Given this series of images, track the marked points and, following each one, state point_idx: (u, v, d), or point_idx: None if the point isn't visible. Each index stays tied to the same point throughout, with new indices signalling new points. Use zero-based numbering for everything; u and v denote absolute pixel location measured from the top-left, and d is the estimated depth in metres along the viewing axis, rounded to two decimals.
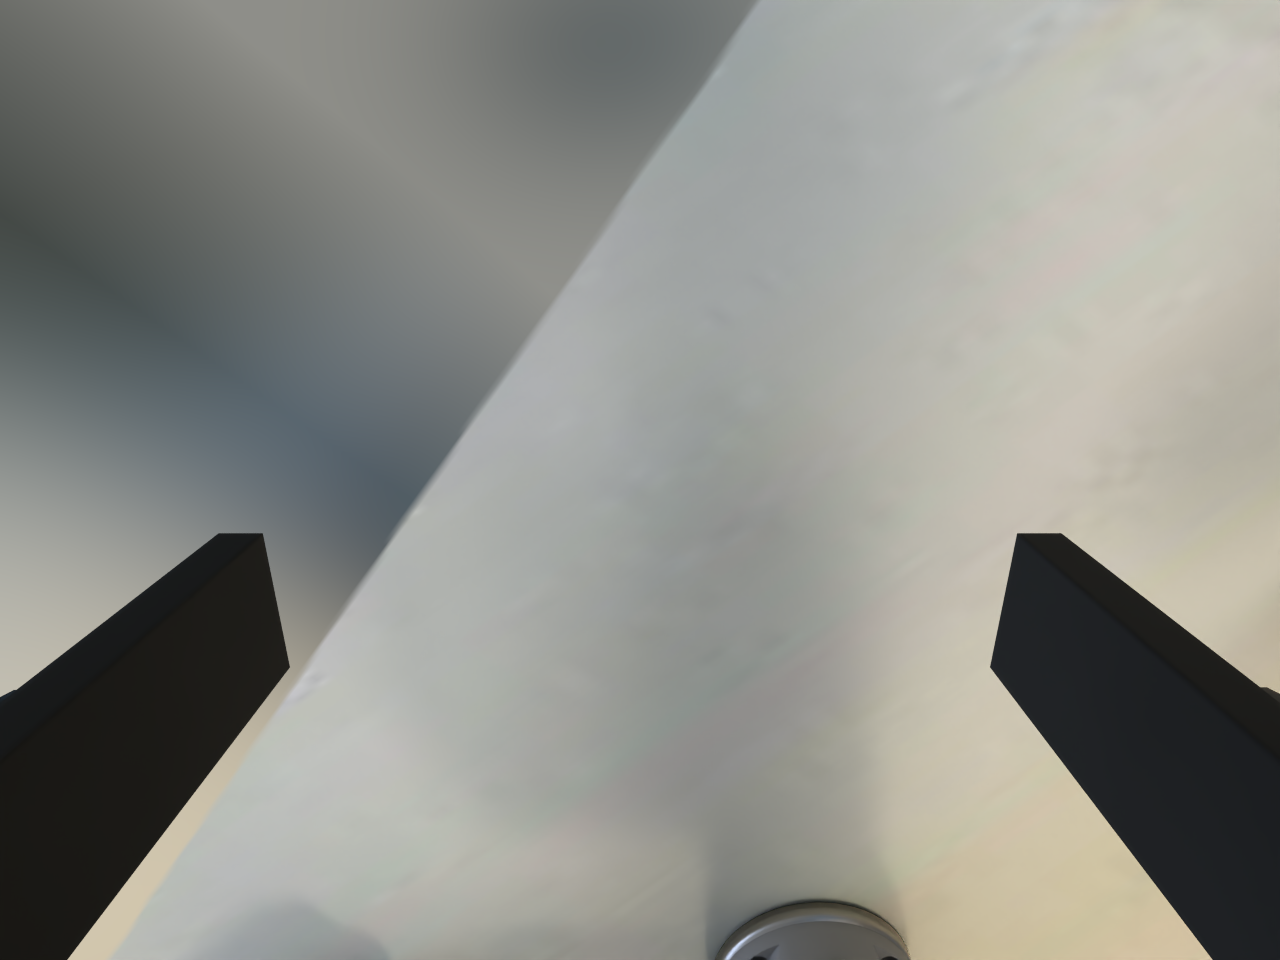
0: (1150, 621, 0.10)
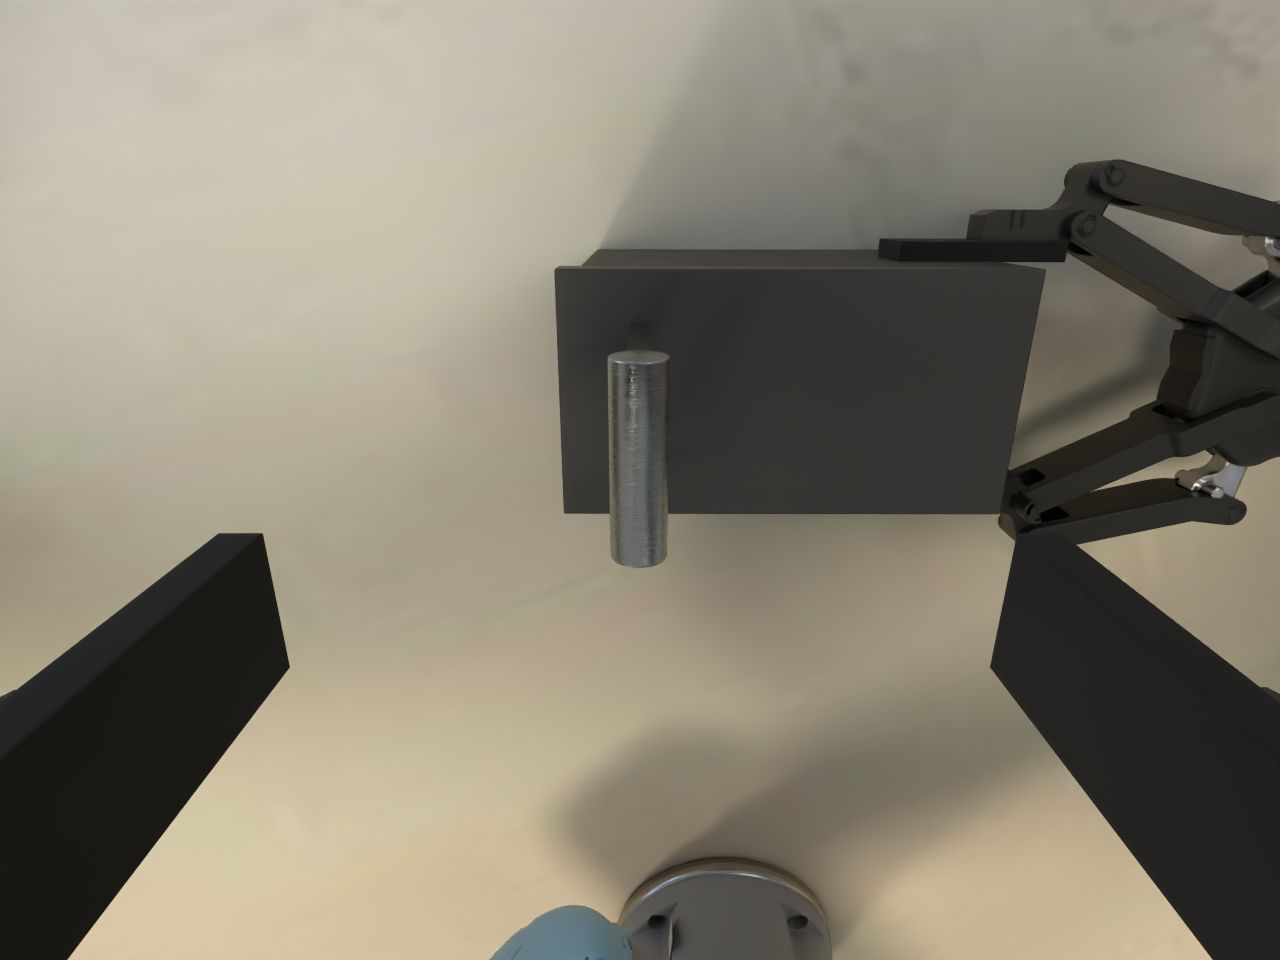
0: (1150, 621, 0.10)
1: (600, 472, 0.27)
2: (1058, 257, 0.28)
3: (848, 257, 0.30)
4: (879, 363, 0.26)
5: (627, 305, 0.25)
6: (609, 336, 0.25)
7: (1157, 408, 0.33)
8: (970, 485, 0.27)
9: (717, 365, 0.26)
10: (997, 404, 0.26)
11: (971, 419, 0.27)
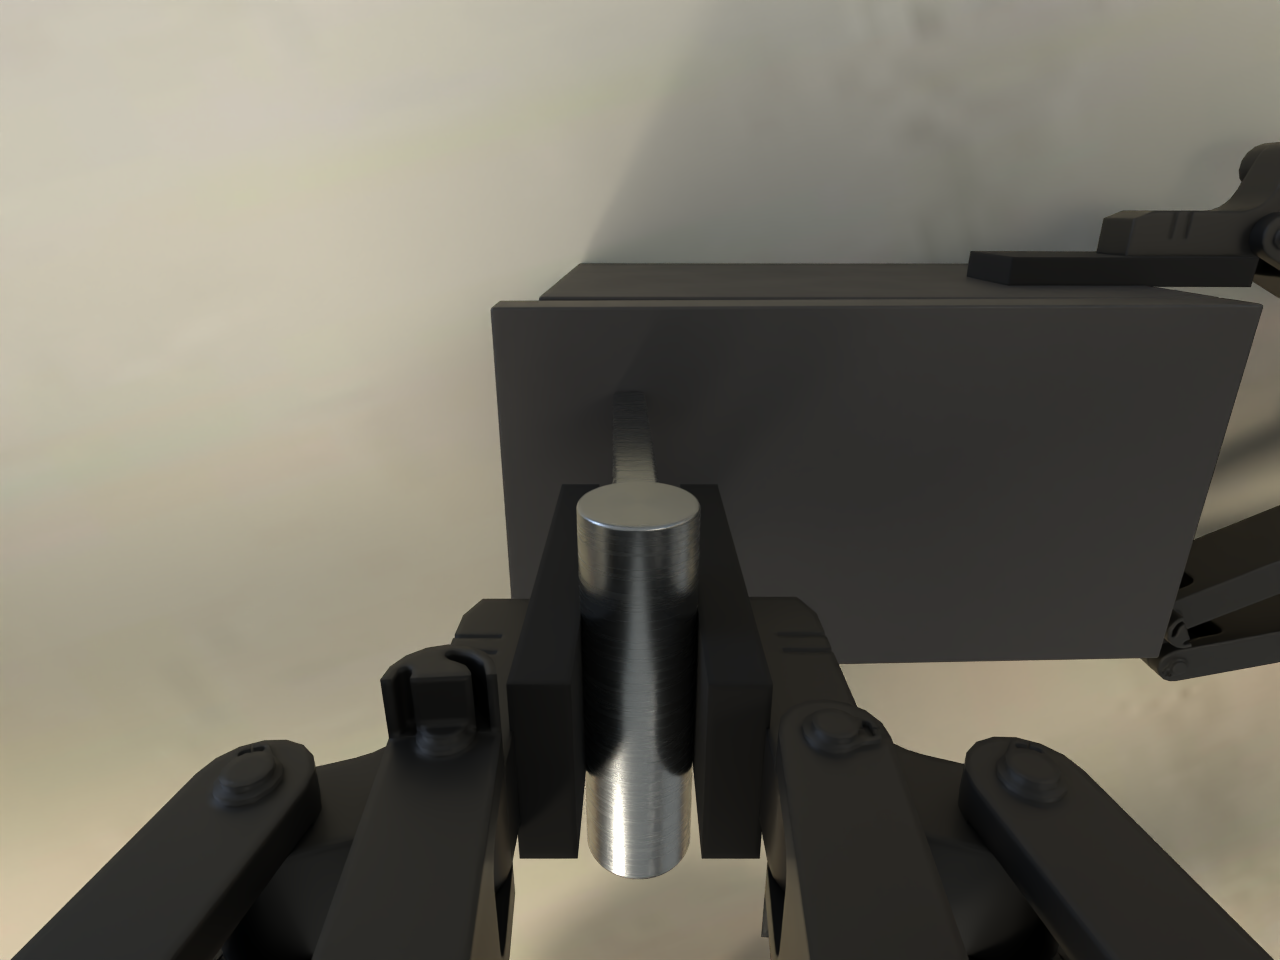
0: (714, 545, 0.12)
1: None
2: (1242, 280, 0.19)
3: (927, 278, 0.21)
4: (998, 448, 0.17)
5: (609, 364, 0.16)
6: (581, 412, 0.16)
7: None
8: (1120, 620, 0.19)
9: (749, 454, 0.17)
10: (1170, 505, 0.17)
11: (1130, 527, 0.18)
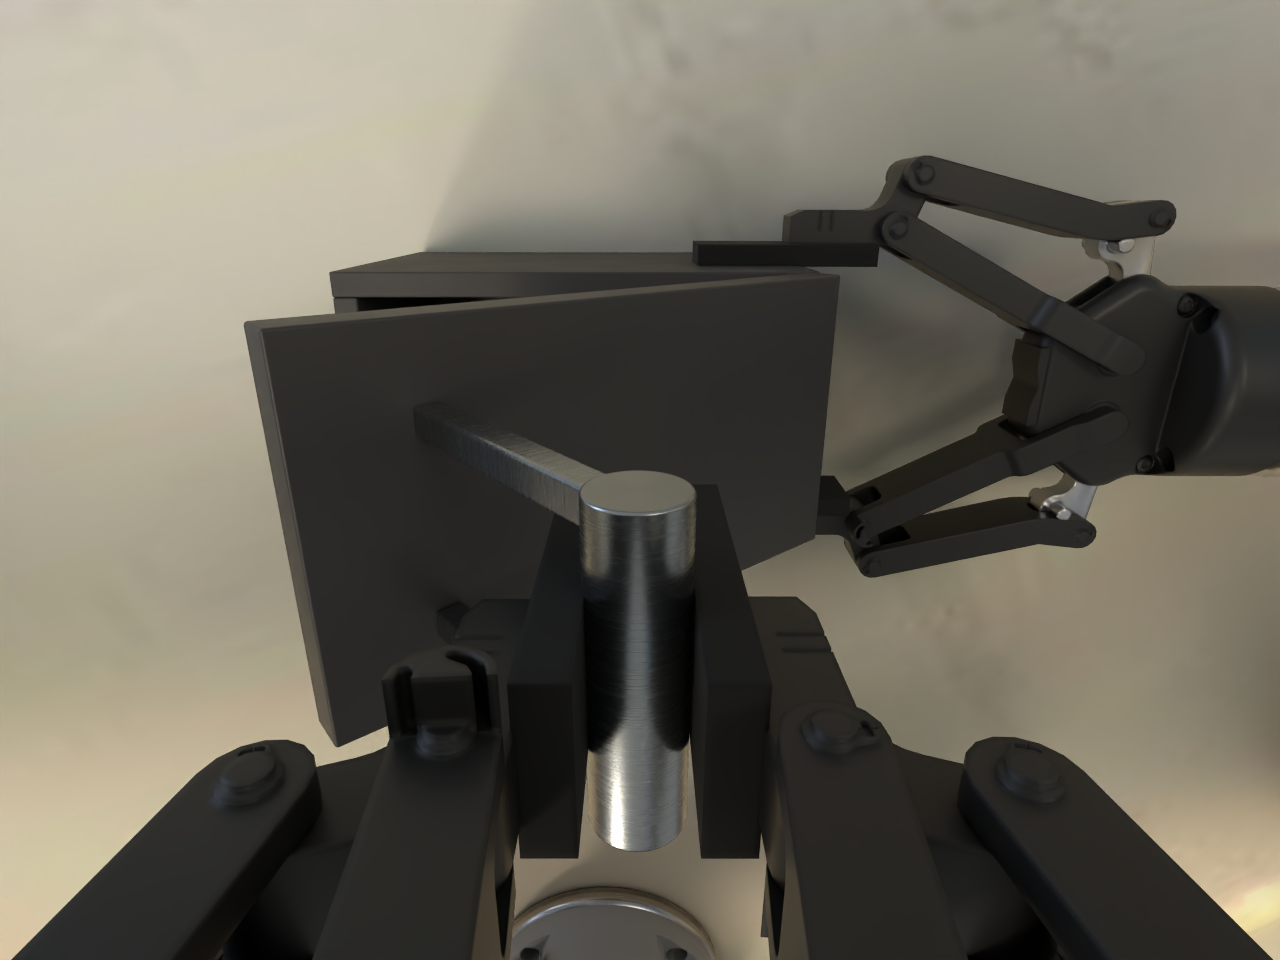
0: (714, 545, 0.12)
1: (391, 658, 0.16)
2: (869, 261, 0.26)
3: (657, 261, 0.28)
4: (716, 403, 0.21)
5: (405, 378, 0.15)
6: (380, 435, 0.14)
7: (1005, 422, 0.31)
8: (794, 517, 0.25)
9: (544, 446, 0.17)
10: (810, 425, 0.24)
11: (792, 447, 0.23)
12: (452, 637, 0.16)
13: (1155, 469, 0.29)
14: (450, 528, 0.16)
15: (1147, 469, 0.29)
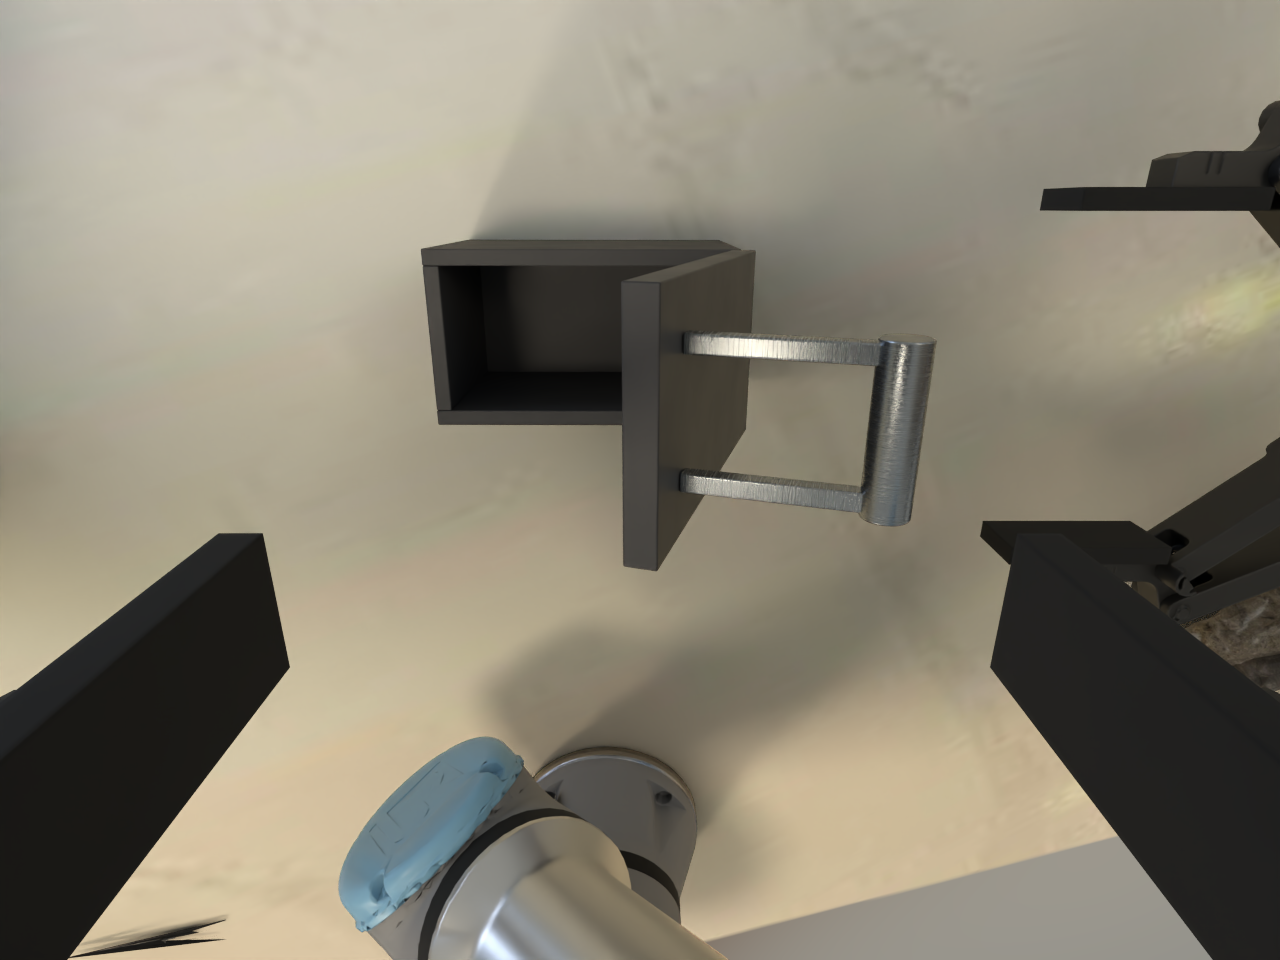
0: (1150, 621, 0.10)
1: (669, 506, 0.24)
2: (1262, 205, 0.25)
3: (638, 244, 0.41)
4: None
5: (682, 314, 0.23)
6: (676, 352, 0.23)
7: None
8: (742, 414, 0.37)
9: (702, 361, 0.26)
10: None
11: (743, 365, 0.36)
12: (702, 484, 0.25)
13: None
14: (684, 416, 0.25)
15: None
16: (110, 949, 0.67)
